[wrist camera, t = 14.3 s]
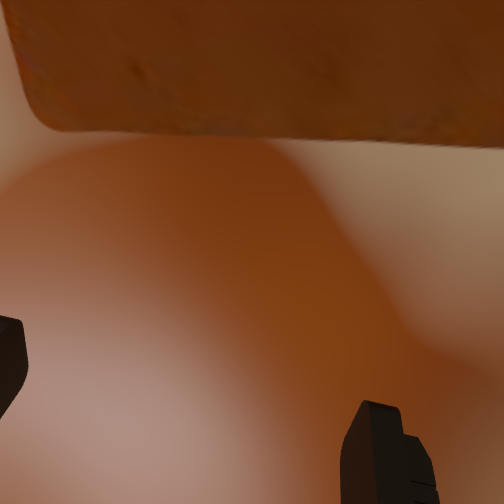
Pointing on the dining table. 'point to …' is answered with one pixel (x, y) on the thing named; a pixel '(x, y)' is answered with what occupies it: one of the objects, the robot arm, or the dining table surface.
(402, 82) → the dining table surface
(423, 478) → the robot arm
